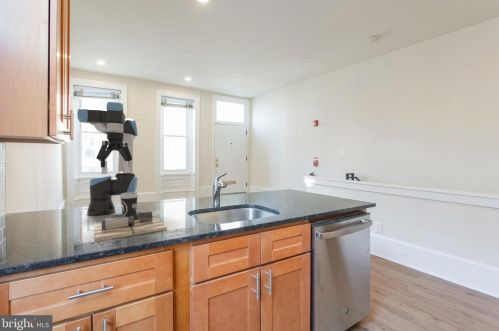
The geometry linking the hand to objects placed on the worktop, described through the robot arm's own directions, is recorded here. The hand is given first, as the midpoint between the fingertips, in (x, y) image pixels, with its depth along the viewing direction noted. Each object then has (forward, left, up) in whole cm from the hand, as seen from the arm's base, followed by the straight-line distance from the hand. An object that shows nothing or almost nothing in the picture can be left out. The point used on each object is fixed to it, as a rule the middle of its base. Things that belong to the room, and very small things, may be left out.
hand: (115, 173), depth 126 cm
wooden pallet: (+10, +5, -27) cm, 29 cm away
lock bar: (+8, 0, -26) cm, 27 cm away
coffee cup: (-11, +7, -28) cm, 30 cm away
